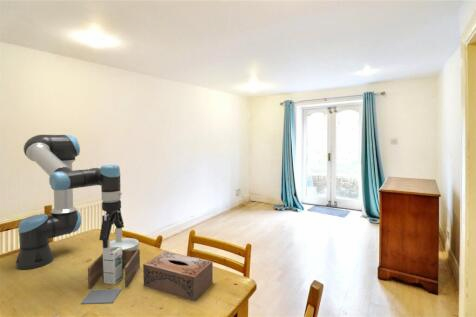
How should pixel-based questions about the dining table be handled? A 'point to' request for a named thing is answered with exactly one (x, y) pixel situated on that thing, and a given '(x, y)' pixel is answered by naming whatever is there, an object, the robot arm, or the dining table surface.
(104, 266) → the syrup box
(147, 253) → the dining table surface
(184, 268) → the tissue box cover
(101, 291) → the grey mat
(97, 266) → the open-sided crate
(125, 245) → the cereal bowl
